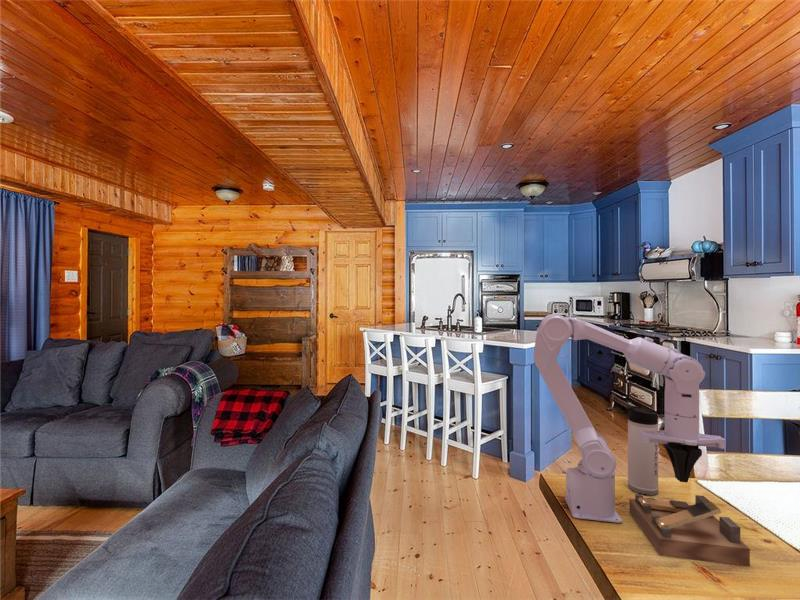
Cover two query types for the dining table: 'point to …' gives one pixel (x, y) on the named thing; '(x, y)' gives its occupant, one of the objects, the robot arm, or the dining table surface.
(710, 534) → the brown strap fixture board
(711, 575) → the dining table surface
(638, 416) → the travel mug
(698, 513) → the near strap
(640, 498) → the far strap
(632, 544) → the dining table surface
